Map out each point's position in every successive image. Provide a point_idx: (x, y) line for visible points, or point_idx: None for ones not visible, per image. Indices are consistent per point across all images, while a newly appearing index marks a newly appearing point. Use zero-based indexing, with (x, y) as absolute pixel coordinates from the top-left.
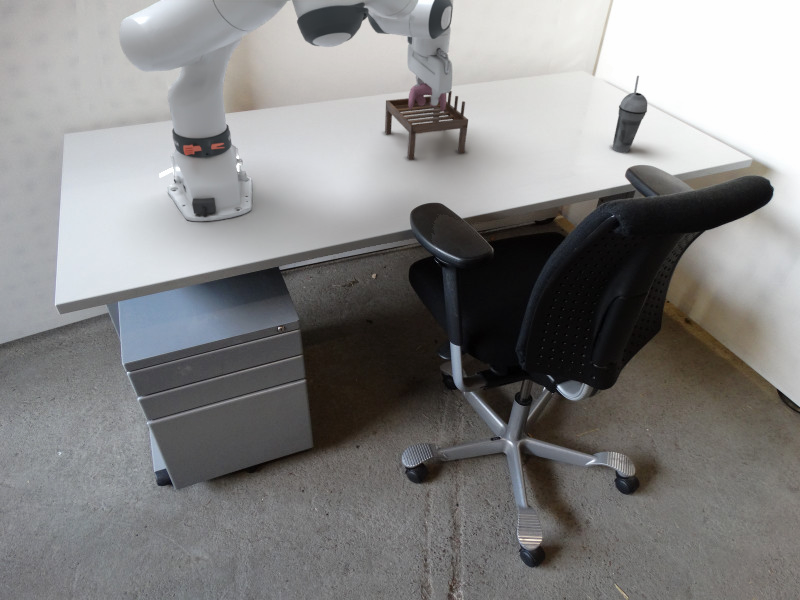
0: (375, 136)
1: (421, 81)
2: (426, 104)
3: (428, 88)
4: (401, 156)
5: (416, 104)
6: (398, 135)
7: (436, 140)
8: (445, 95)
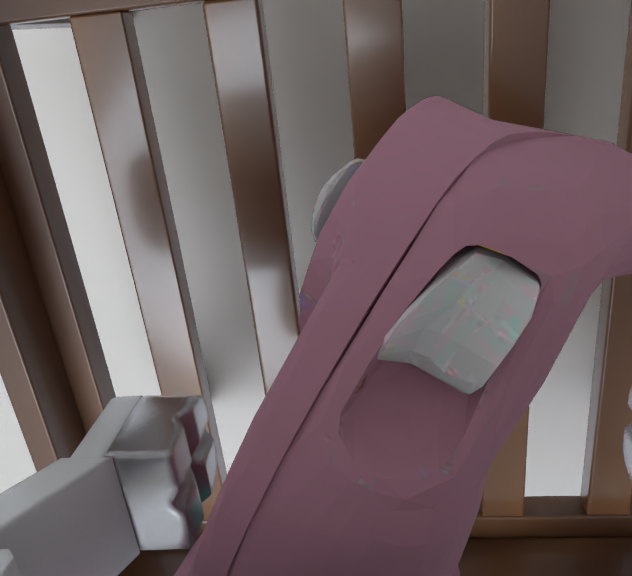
0: (228, 465)
1: (45, 560)
2: (40, 169)
3: (451, 566)
4: (554, 412)
5: (72, 298)
6: (228, 336)
7: None
8: (616, 188)
